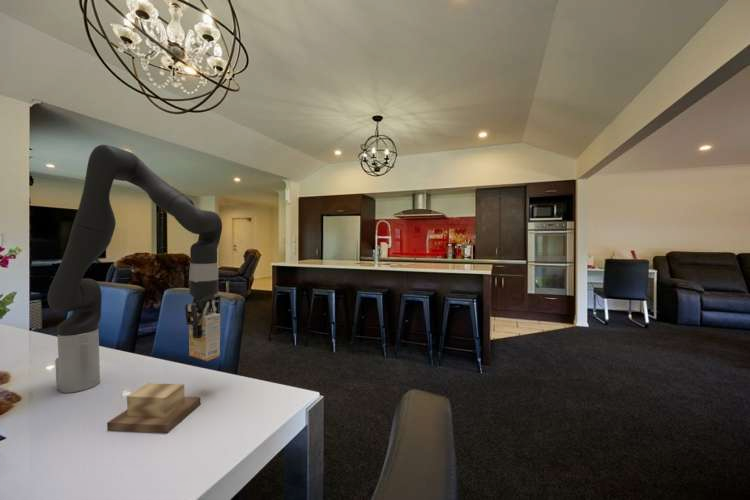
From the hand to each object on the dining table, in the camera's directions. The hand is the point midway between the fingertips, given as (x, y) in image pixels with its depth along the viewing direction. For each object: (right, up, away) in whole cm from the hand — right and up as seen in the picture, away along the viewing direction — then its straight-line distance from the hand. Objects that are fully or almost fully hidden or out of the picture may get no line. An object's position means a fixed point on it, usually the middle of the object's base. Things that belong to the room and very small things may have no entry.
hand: (204, 334), depth 94 cm
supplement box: (0, -7, 0) cm, 7 cm away
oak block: (-6, -16, -12) cm, 21 cm away
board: (-6, -18, -12) cm, 23 cm away
